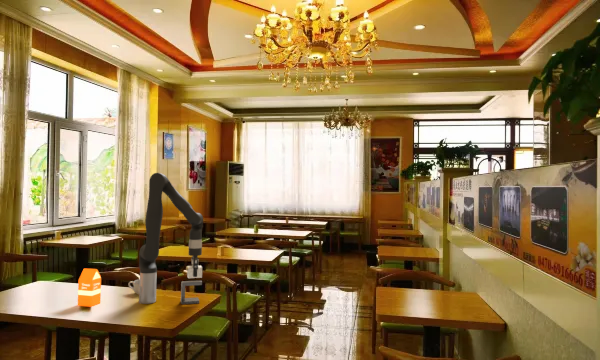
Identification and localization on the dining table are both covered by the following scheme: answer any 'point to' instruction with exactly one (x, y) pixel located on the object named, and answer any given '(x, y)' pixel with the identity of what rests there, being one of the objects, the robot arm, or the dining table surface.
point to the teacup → (135, 285)
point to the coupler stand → (183, 299)
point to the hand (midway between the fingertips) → (194, 275)
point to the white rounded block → (190, 272)
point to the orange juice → (89, 288)
